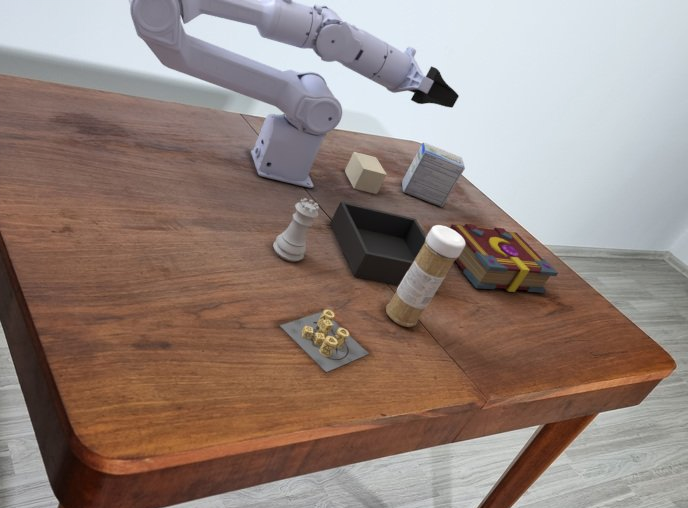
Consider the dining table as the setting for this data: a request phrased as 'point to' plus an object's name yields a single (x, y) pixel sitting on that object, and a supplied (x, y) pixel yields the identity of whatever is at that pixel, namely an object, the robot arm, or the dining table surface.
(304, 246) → the rook chess piece
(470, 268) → the decorative book
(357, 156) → the small box
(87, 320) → the dining table surface
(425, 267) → the sprinkles bottle
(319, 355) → the dice set
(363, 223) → the basket
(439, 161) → the medicine box
